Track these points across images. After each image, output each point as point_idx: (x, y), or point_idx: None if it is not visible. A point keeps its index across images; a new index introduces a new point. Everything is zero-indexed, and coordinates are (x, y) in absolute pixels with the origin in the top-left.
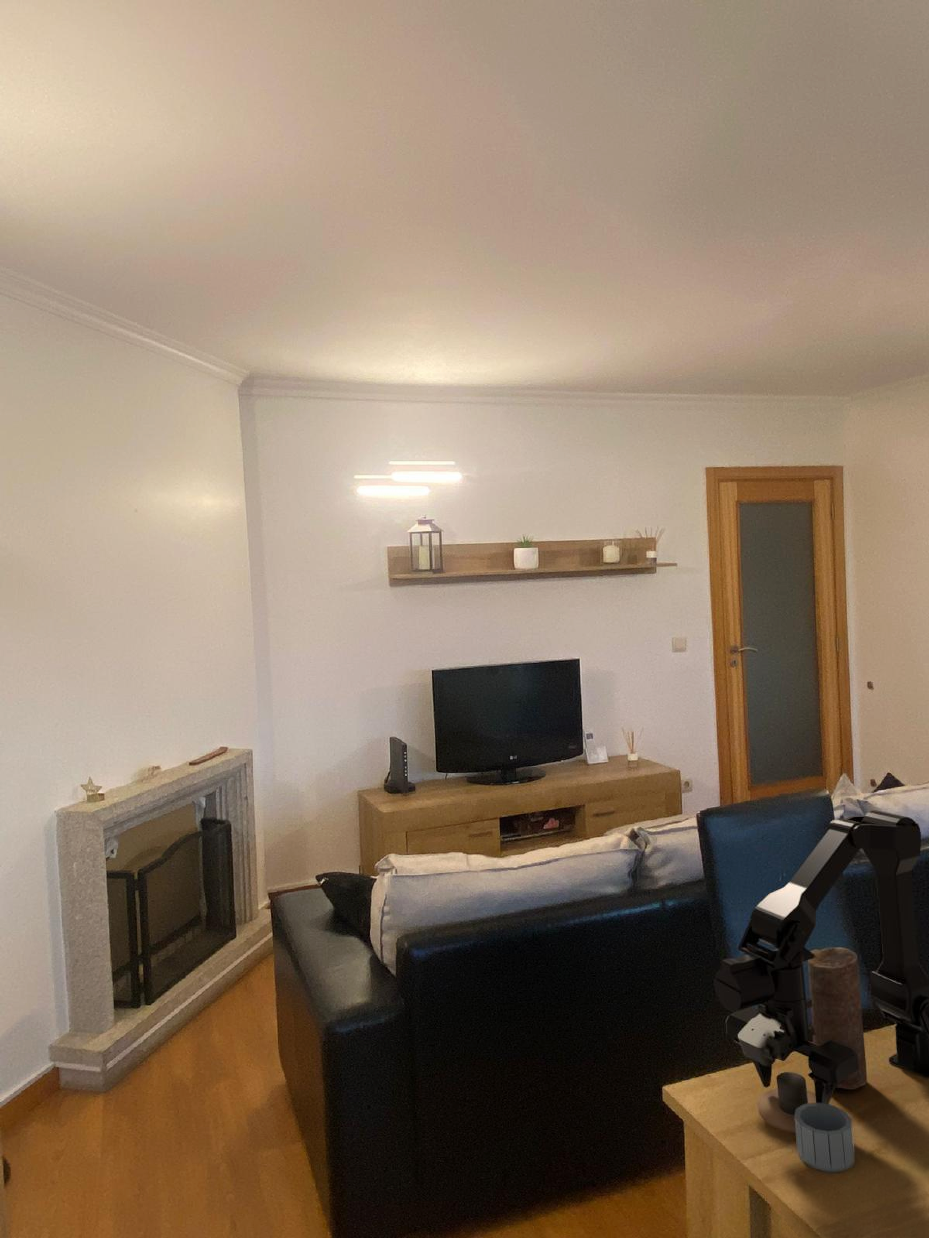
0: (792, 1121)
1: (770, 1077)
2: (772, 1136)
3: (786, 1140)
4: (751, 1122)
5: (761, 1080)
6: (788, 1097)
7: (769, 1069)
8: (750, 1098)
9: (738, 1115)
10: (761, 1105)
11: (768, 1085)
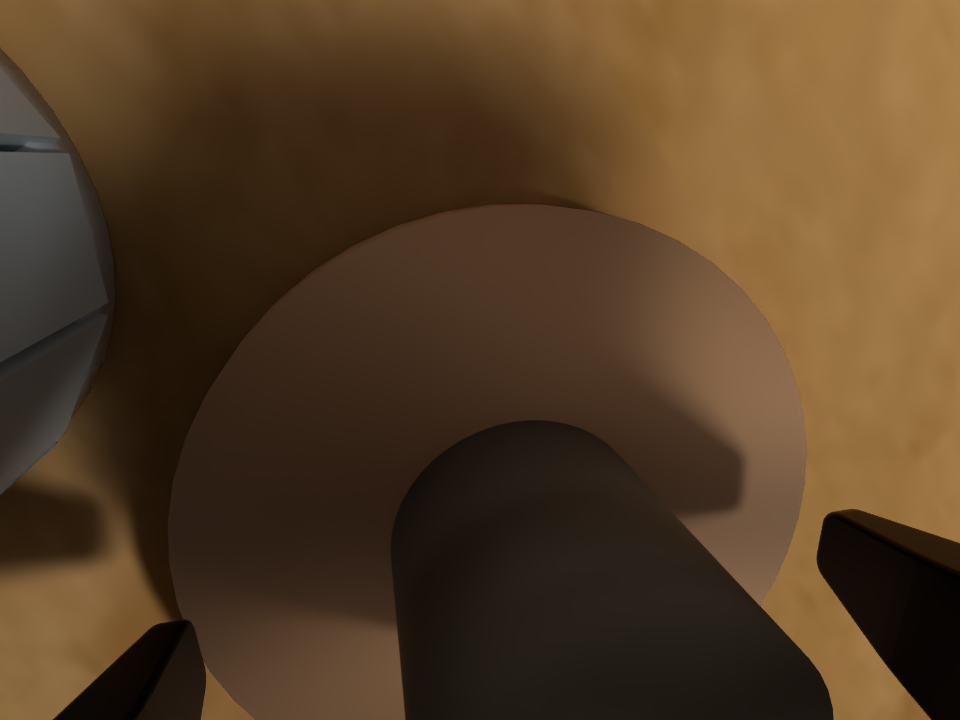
0: (372, 367)
1: (871, 631)
2: (374, 46)
3: (235, 111)
4: (663, 78)
5: (917, 530)
6: (511, 536)
7: (958, 706)
8: (851, 366)
9: (810, 71)
10: (728, 328)
11: (824, 549)
